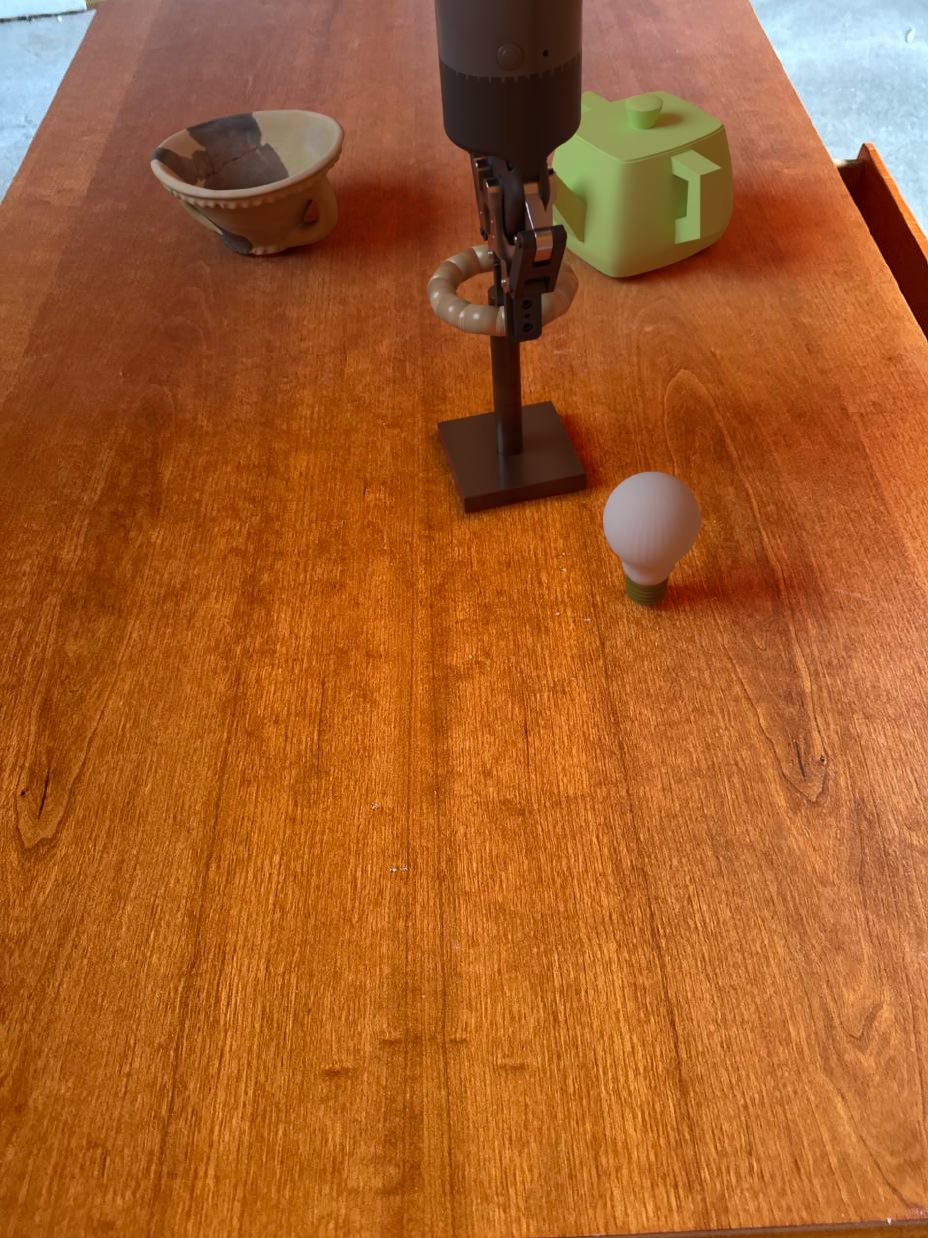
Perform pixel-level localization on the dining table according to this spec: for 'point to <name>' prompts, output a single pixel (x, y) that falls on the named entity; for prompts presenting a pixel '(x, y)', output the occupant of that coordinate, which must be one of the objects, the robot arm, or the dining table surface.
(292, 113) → the bowl
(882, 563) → the dining table surface
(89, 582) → the dining table surface
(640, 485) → the light bulb
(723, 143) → the teapot
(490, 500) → the stand
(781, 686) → the dining table surface
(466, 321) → the beige segmented ring
